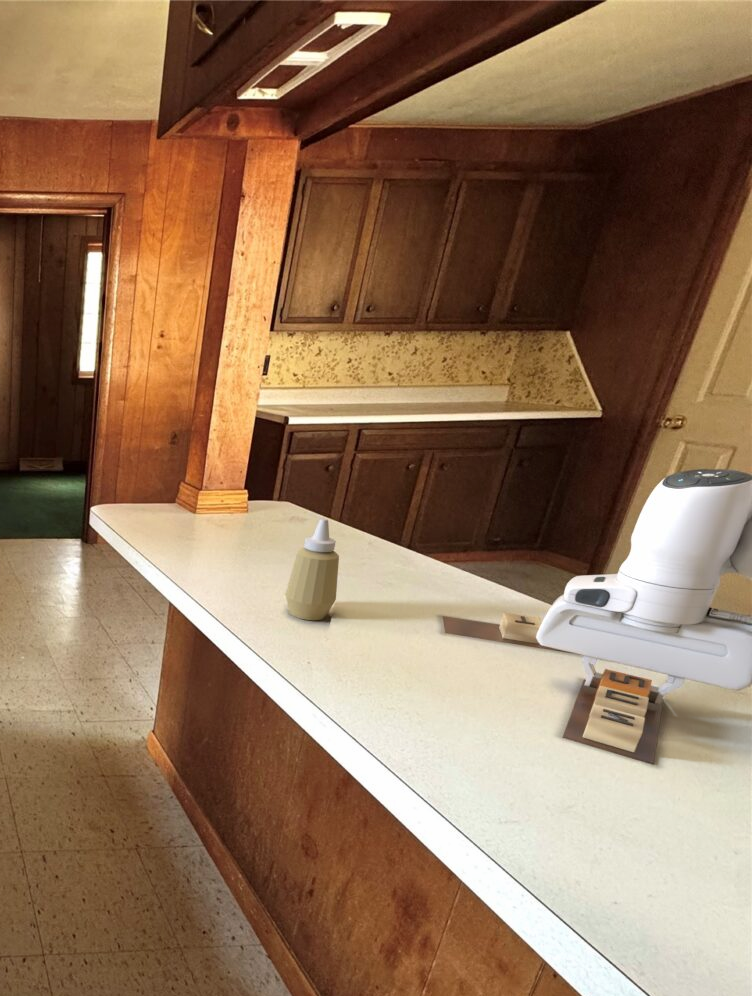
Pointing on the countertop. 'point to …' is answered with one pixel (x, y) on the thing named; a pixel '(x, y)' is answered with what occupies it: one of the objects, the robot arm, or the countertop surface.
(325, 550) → the squeeze bottle
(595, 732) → the front rack
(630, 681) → the s tile
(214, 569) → the countertop surface
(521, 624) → the back rack
